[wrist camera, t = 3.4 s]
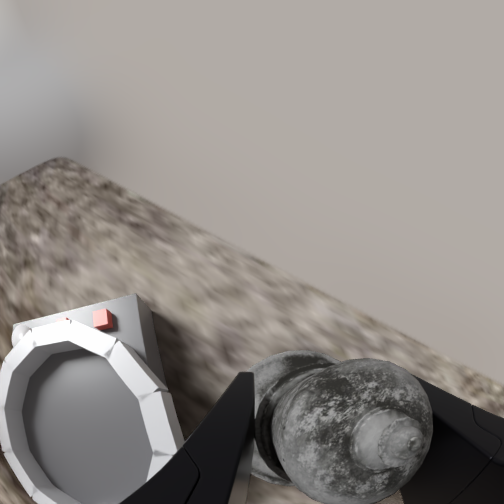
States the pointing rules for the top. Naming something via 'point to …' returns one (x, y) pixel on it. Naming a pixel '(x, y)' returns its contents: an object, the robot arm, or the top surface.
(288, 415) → the grey stone finial
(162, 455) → the faceted bowl on plate
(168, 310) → the top surface
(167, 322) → the top surface
